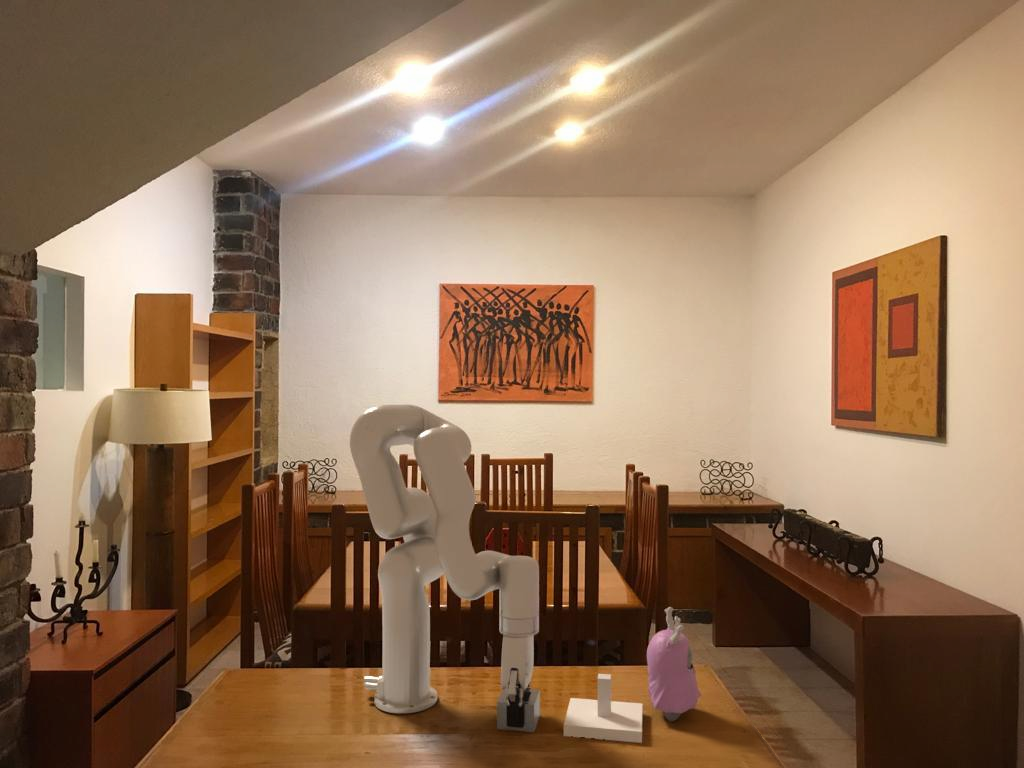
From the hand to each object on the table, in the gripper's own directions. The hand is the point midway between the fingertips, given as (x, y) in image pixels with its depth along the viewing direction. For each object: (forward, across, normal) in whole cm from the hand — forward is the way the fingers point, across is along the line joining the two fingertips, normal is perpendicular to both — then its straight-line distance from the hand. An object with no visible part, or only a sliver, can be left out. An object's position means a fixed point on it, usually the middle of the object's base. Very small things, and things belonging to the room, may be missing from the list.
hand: (519, 716), depth 138 cm
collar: (+1, 0, 0) cm, 1 cm away
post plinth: (+1, -2, +16) cm, 16 cm away
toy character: (+1, -9, +29) cm, 30 cm away
